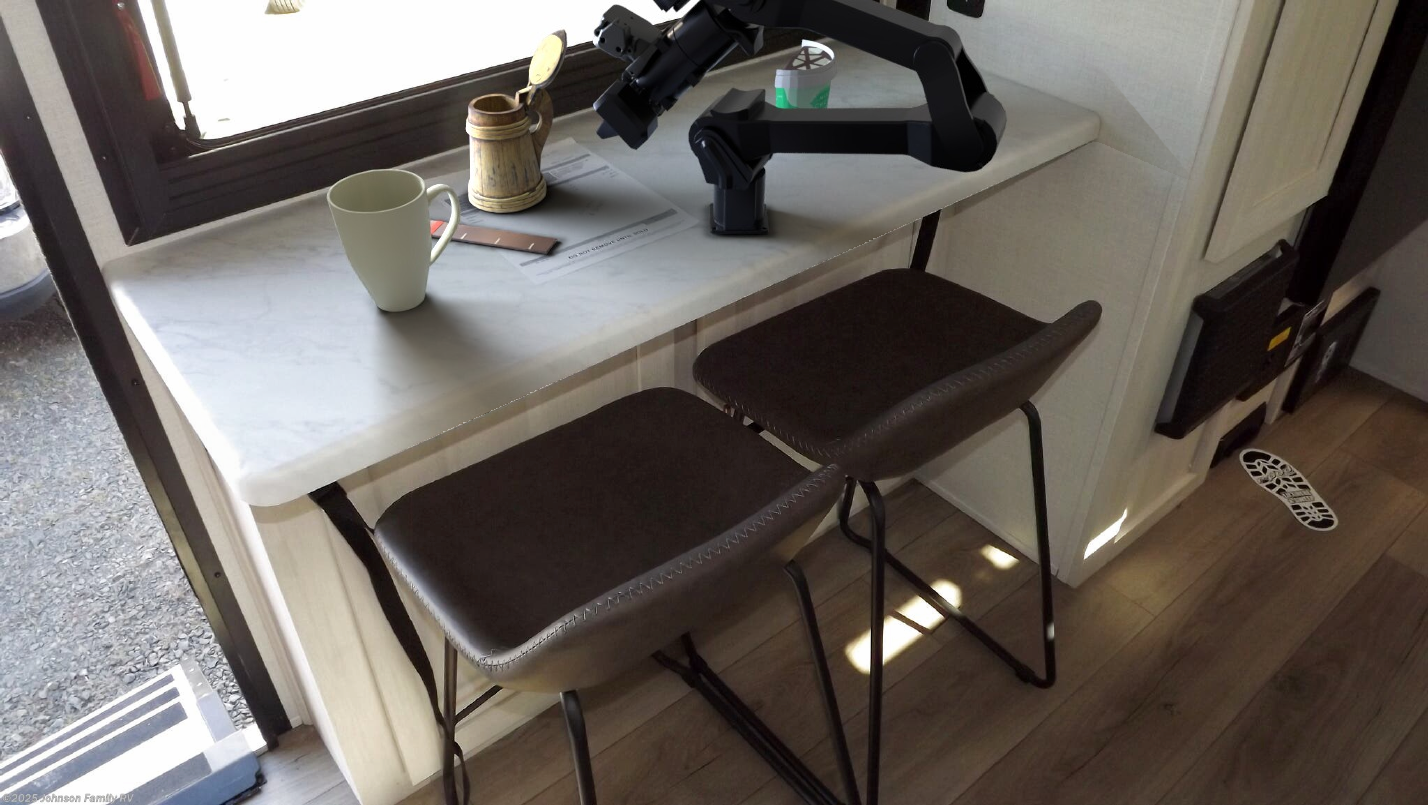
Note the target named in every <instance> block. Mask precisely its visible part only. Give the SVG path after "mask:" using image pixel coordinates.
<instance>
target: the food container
mask: <svg viewBox="0 0 1428 805" xmlns="http://www.w3.org/2000/svg"><path fill="white" fill-rule="evenodd" d="M801 41H802V42H801V48H800V49H799V51H798V52H797V53H796V54H794V55H792V57H791V58H790V59H789V60H788V62H787V64H786V65H785V67H784V68H783V69H780V68H779V69H776V73H775V79H774V80H775V81H774V88H775V106H776V107H779V108H828V105H829V98H830V92H831V86H832V81H833V80H834V79H835V78H836V77H837V75H838V64H837V59H836V56H835V53H834V51H833V50H832V49H831V48H830V47H829V46H826V45H825V44H822V43H820V42H817V41H814V40H808V39H802V40H801Z"/></svg>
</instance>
